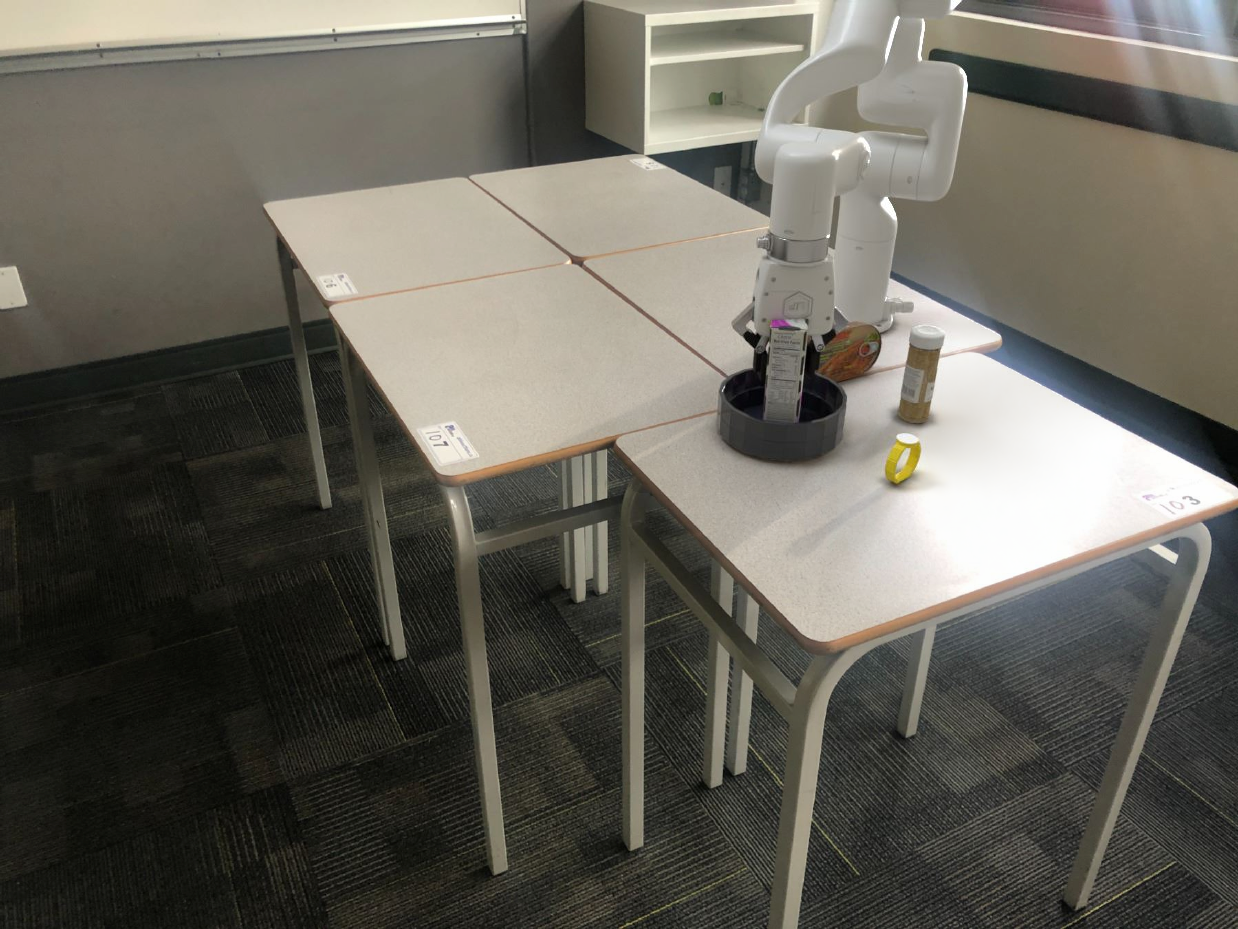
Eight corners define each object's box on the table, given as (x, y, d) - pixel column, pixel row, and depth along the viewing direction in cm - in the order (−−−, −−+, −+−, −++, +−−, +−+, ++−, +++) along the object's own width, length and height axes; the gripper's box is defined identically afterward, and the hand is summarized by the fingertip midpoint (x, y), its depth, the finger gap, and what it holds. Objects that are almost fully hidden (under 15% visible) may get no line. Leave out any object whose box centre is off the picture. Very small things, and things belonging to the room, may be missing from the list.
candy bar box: (765, 399, 142) (775, 291, 134) (800, 403, 141) (812, 294, 133) (758, 438, 133) (769, 324, 124) (796, 442, 132) (809, 328, 123)
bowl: (824, 400, 146) (829, 364, 143) (856, 461, 131) (862, 422, 128) (708, 404, 145) (710, 367, 142) (728, 466, 130) (730, 426, 127)
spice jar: (934, 422, 140) (952, 335, 133) (905, 426, 140) (920, 338, 132) (919, 407, 144) (935, 321, 137) (890, 410, 143) (905, 324, 136)
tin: (800, 392, 148) (806, 340, 144) (788, 383, 151) (793, 332, 146) (879, 371, 154) (887, 321, 150) (866, 363, 157) (873, 313, 152)
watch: (895, 491, 125) (902, 451, 122) (877, 482, 127) (883, 442, 124) (921, 474, 129) (929, 434, 126) (903, 466, 130) (910, 426, 127)
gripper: (734, 257, 120) (725, 390, 130) (874, 254, 121) (855, 386, 131) (724, 237, 127) (716, 364, 136) (857, 234, 128) (840, 361, 137)
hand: (784, 374), depth 133 cm, fingers closed on candy bar box, 5 cm apart
